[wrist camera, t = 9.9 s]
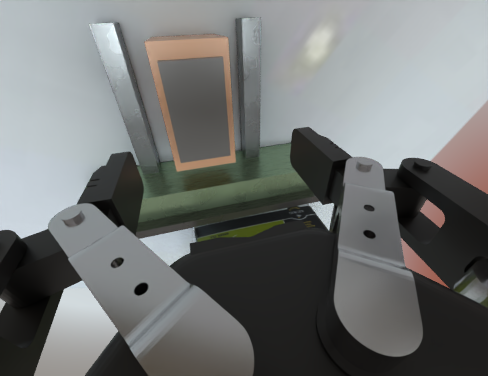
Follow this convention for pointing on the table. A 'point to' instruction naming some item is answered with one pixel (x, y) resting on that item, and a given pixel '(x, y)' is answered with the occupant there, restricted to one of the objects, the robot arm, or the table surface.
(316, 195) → the robot arm
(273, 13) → the table surface
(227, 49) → the framed panel box
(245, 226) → the tea box
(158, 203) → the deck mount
